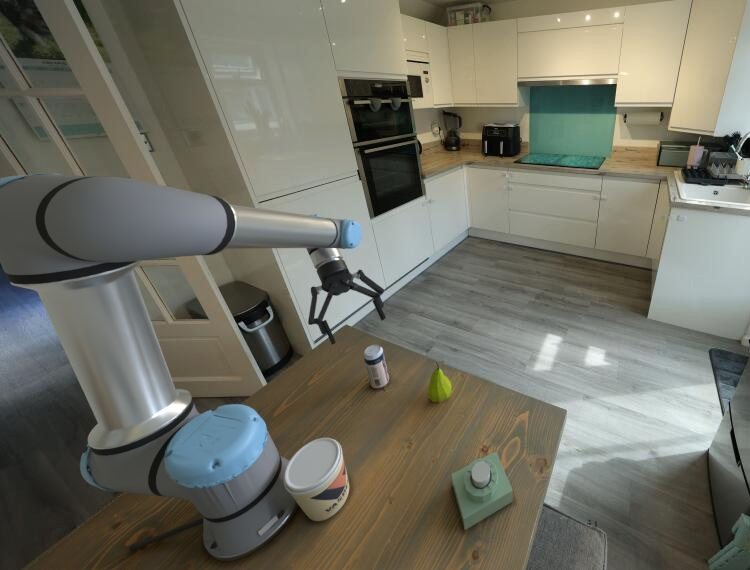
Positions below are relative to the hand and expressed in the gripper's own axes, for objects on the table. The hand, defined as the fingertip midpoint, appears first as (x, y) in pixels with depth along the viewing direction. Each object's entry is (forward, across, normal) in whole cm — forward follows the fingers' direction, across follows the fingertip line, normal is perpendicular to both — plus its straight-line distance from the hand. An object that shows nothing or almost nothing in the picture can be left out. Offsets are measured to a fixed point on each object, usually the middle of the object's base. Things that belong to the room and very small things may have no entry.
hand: (360, 330), depth 87 cm
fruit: (+26, -10, +8) cm, 29 cm away
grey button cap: (+40, -4, +29) cm, 49 cm away
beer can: (+15, 0, -3) cm, 16 cm away
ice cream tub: (+29, +19, +10) cm, 36 cm away
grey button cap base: (+44, -4, +25) cm, 50 cm away
